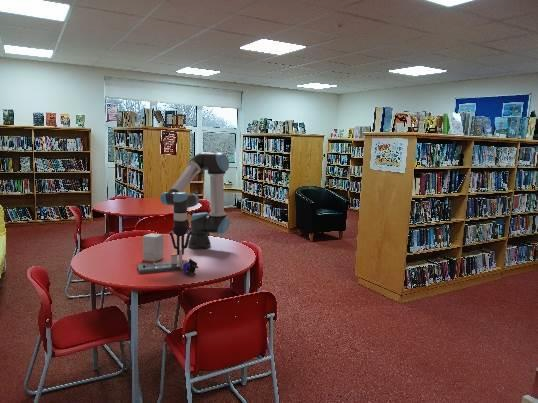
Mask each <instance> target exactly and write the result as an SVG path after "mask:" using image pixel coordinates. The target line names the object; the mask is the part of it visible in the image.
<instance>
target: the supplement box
mask: <svg viewBox="0 0 538 403" xmlns="http://www.w3.org/2000/svg"><path fill="white" fill-rule="evenodd" d="M142 259H143V261H148V262H153V263H154V262H159V261H160V260H162V259H164V234H161V233H152V232H151V233H148V234H144V235H142Z"/></svg>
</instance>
